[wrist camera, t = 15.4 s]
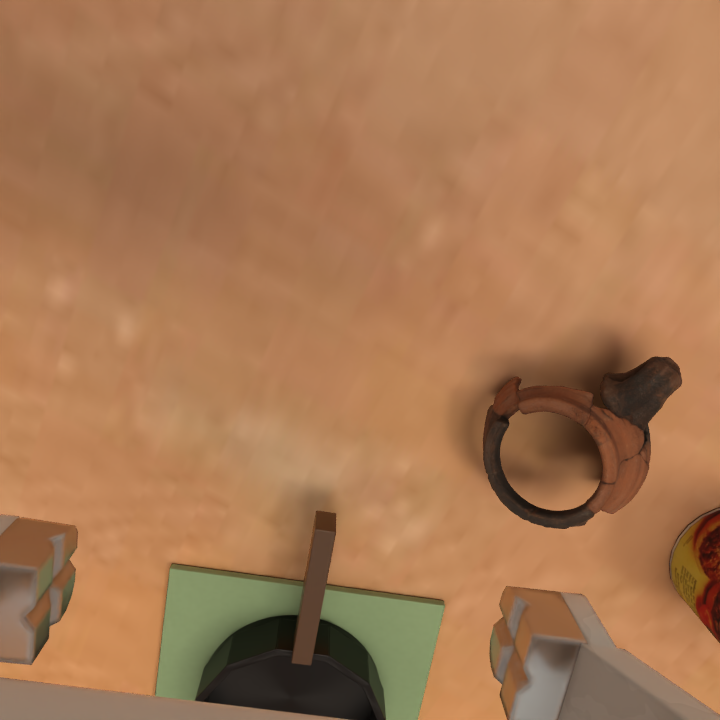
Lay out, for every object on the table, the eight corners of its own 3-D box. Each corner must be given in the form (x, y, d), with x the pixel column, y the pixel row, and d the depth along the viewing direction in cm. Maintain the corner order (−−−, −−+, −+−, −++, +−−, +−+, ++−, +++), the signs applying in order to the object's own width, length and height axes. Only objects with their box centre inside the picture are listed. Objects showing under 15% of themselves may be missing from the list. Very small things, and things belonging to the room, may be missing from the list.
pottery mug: (587, 520, 43) (559, 578, 36) (480, 420, 46) (434, 456, 39) (731, 392, 38) (731, 430, 31) (601, 285, 40) (573, 299, 33)
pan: (193, 751, 46) (179, 807, 42) (230, 481, 41) (218, 515, 37) (363, 771, 47) (365, 827, 43) (421, 509, 42) (430, 545, 38)
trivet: (148, 761, 47) (146, 768, 46) (171, 563, 43) (169, 568, 42) (398, 789, 48) (399, 796, 48) (444, 600, 44) (445, 605, 43)
